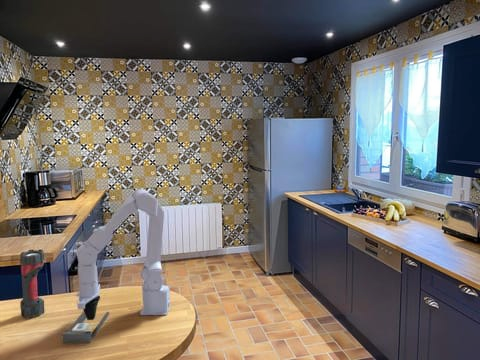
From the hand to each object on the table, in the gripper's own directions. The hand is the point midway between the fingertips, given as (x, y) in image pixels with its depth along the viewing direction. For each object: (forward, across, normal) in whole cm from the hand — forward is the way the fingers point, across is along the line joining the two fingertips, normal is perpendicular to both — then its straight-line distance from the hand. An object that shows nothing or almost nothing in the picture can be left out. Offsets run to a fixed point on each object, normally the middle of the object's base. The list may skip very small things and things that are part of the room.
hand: (91, 319), depth 126 cm
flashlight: (+2, -7, -22) cm, 23 cm away
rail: (+2, +2, 0) cm, 3 cm away
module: (+2, +8, 0) cm, 8 cm away
